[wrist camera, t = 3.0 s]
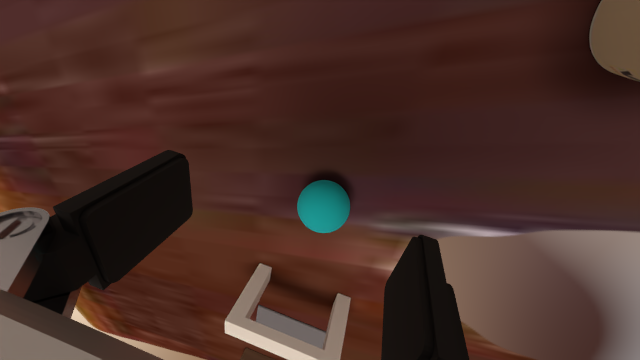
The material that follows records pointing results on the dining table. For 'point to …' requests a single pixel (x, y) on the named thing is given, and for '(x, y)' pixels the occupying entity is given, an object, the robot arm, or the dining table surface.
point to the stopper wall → (253, 355)
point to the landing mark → (290, 327)
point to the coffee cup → (617, 37)
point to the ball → (323, 206)
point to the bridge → (298, 353)
